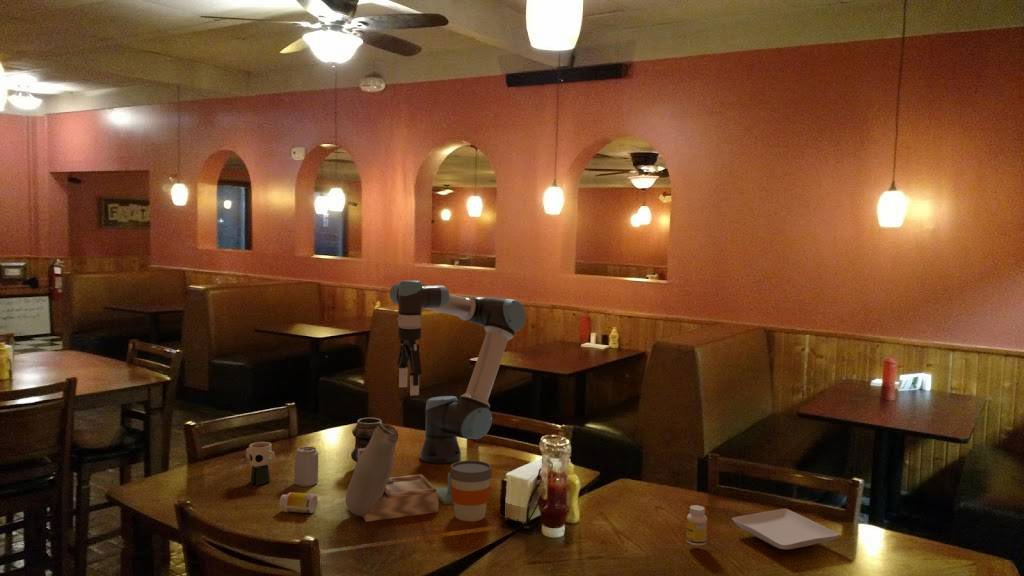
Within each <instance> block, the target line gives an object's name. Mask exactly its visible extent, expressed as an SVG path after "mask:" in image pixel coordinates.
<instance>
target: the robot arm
mask: <svg viewBox="0 0 1024 576" xmlns="http://www.w3.org/2000/svg"><path fill="white" fill-rule="evenodd" d="M389 299H390V300H391V301H392V303H393V304H395V305H396V304H397V305H398V317H396V321H398V327H399V328H397V339H399V340H400V341H399V344H400V345H399V348H398V349H399V350H398V356H397V363H396V364H397V365H398V388H408V376H409V377H410V379H409V380H410V381H409V382H410V383H409V385H410V387H409V389H410V390H409V395H410V397H411V396H412V397H413V396H419V395H420V375H422V373H423V372H422V364H421V357H420V356H421V355H420V345H419V344H418V343H416V341H418V340H421V339H422V329H421V326H422V319H423V318H422V316H423V315H422V309H424V310H426V311H427V310H428V311H433V312H436V313H442V314H445V315H450V316H453V317H454V316H455V317H457V318H459V319H460V320H462V321H464V322H469V323H472V324H475V325H478V326H480V327H483V328H484V331H485V335H484V340H483V341H482V342H483V343H482V345H481V347H480V351H479V354H478V355H477V356H478V357H477V359H476V362H475V366H474V368H473V371H472V374H471V377H470V379H469V383H468V385H467V388H466V391H465V393H463V394H462V395H460V396H459V399H458V397H457V396H454V395H444V396H443V395H441V396H435V397H434V396H433V397H430V398H428V399H427V401H426V405H425V410H424V411H425V413H424V414H425V415H424V417H425V425H424V426H425V428H424V429H425V436H424V437H425V438H424V440H423V442H422V443H423V444H422V446H421V449H420V455H419V456H420V458H421V459H420V460H421V461H423V462H425V463H430V464H437V465H438V464H439V465H440V464H443V465H444V464H450V463H451V464H453V463H456V462H459V461H461V459H462V457H461V455H462V452H461V448H460V445H459V442H458V438H457V436H459V437H463V438H465V439H466V440H467V439H469V440H470V439H471V440H479V439H482V437H485V436H486V435H487V433H488V432H489V431H490V429H491V426H492V423H493V418H492V417H493V414H492V412H491V411H490V408H491V405H490V403H489V398H490V395H491V393H492V392H491V391H492V389H493V387H494V384H495V380H496V377H497V374H498V371H499V368H500V366H501V362H502V360H503V357H504V354H505V350H506V347H507V345H508V343H509V341H510V340H512V339H513V338H514V336H515V334H516V332H518V331H521V329H523V328H524V327H525V324H526V319H527V318H526V317H527V316H526V311H525V308H524V305H523V303H521V302H520V301H519V300H517V299H512V298H509V297H508V298H503V297H502V298H501V297H490V296H472V295H464V296H459V295H455V294H452V293H450V292H449V289H448V288H447V287H446V286H444V285H440V284H435V285H432V284H431V285H430V284H429V285H428V284H423V283H422V281H421V280H417V279H415V280H414V279H413V280H411V279H410V280H407V279H406V280H401V281H400V282H398V283H396V282H395V283H394V284H393V285H391V288H390V290H389ZM408 368H410V373H409V375H408V372H409V371H408V370H409V369H408Z"/></svg>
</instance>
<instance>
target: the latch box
mask: <svg viewBox="0 0 1024 576" xmlns="http://www.w3.org/2000/svg"><path fill="white" fill-rule="evenodd" d="M389 479H392V480H393V484H389V485H386V488H385V490H384V493H383V495H382V498H380V499H379V500H378V501H377V503H376V505H375V506H374V508H373V510H372V511H371V512H370V513H368V514H366V515H365V516H361V517H362V518H363V520H364V521H365V522H373V521H374V522H375V521H381V520H389V519H396V518H403V517H405V518H406V517H411V516H418V515H425V514H433V513H435V514H436V513H439V498H438V495H439V493H438V492H437V491H436V487H435V486H434V485H433V484H432V483H431V482H430V481H429V480H428V479H427V478H426V477H425V476H424V475H423V473H422V474H412V475H402V476H395V477H389Z"/></svg>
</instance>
